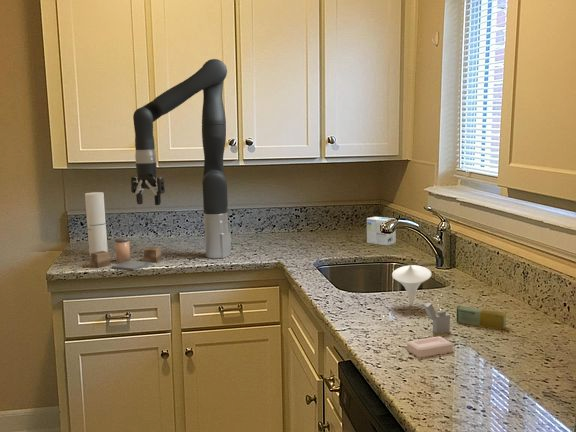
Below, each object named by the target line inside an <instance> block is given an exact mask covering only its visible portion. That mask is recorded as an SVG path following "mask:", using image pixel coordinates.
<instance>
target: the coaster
mask: <svg viewBox="0 0 576 432" xmlns="http://www.w3.org/2000/svg"><path fill="white" fill-rule="evenodd" d="M151 265H152V263H151V262H144V261H142V260H141V261H139V260H132V259H130V260H129V261H126V262H123V263H118V264H115V265H112V266H111V269H114V270H124V271H137V270H140V269H142V268H145V267H148V266H151Z"/></svg>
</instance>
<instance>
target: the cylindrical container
mask: <svg viewBox="0 0 576 432" xmlns="http://www.w3.org/2000/svg"><path fill="white" fill-rule="evenodd" d="M104 196H105V195H104V192H103V191H102V192H100V191H97V192H95V191H94V192H86V193H84V198H85V199H84V200H85V211H86V212H85V214H86V224H87V225H86V227H87V239H88V250H89V251H88V253H89V256H90V257H91V253H94V252H99V251H106V252H109V250H108V249H109V248H108V236H107V223H106V209H105V208H106V207H105V197H104Z"/></svg>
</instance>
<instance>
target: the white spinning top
mask: <svg viewBox="0 0 576 432" xmlns="http://www.w3.org/2000/svg"><path fill="white" fill-rule="evenodd" d="M391 276H392V278H393V279H394V280H395V281H397V282H399V283H400V285H402V286H403V287H404V289H405V291H406V294H407V297H408V303H409V306H411V307H412V306H413V305H414V299H415V297H416V293H417V291H418V288H419V287H420V286H421V284H423V283H425V282H426V281H428V280H429V279H431V277H432V272H431V270H430V269H429V268H427V267H424V266H421V265H414V264H411V265H404V266H400V267H398V268H396V269H395V270H393V272H392V273H391Z"/></svg>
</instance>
